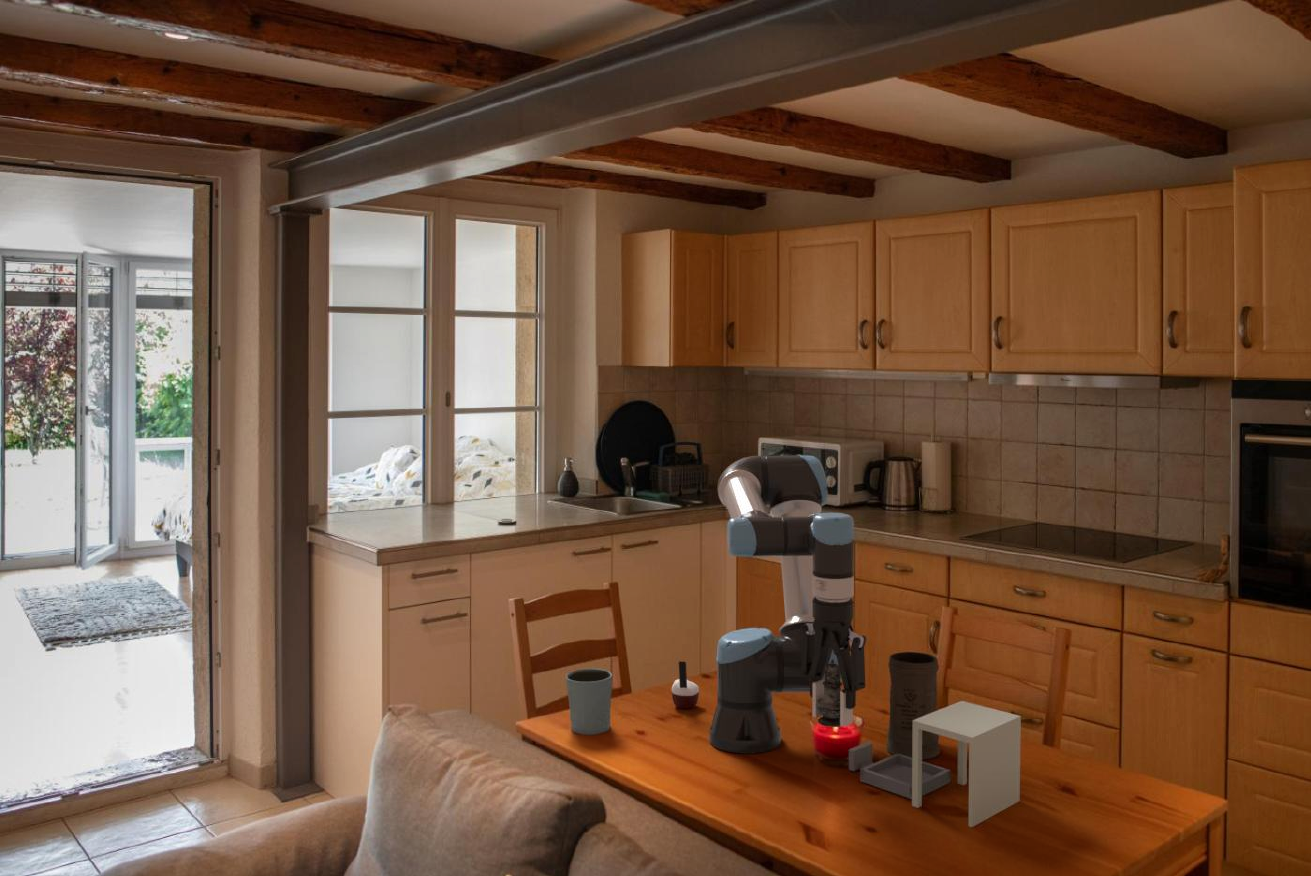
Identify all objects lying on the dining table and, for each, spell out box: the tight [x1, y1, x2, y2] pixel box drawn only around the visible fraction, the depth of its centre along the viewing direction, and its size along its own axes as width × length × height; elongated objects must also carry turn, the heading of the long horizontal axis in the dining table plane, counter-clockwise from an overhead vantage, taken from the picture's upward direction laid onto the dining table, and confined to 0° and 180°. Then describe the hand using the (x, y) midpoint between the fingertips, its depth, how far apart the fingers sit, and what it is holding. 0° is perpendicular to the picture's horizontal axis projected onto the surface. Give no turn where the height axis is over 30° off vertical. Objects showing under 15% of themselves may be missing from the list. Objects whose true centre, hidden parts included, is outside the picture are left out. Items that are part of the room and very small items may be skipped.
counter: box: [911, 700, 1022, 828], centre depth 187 cm, size 12×16×16 cm
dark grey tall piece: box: [816, 659, 843, 728], centre depth 193 cm, size 6×6×12 cm
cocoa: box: [671, 660, 700, 710], centre depth 242 cm, size 10×6×12 cm, turn 149°
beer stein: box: [885, 651, 941, 760], centre depth 215 cm, size 15×11×20 cm
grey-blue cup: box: [565, 668, 613, 736], centre depth 229 cm, size 10×10×12 cm
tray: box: [848, 741, 952, 800], centre depth 199 cm, size 17×12×4 cm
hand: (832, 719), depth 194 cm, fingers closed on dark grey tall piece, 6 cm apart
